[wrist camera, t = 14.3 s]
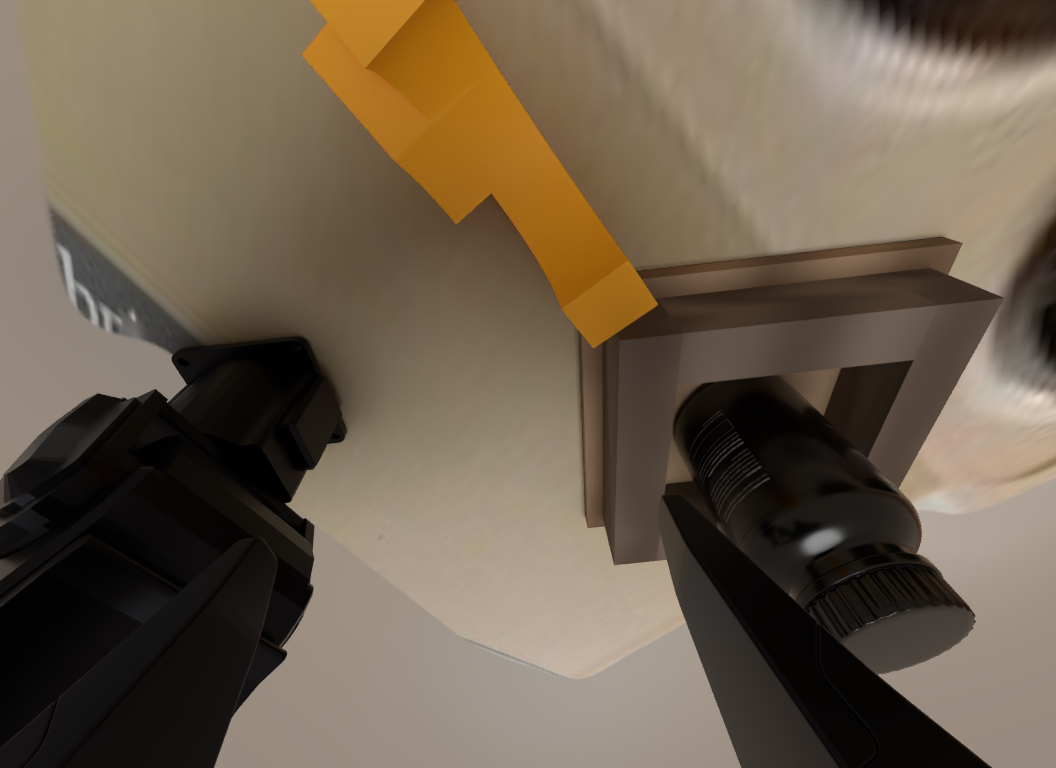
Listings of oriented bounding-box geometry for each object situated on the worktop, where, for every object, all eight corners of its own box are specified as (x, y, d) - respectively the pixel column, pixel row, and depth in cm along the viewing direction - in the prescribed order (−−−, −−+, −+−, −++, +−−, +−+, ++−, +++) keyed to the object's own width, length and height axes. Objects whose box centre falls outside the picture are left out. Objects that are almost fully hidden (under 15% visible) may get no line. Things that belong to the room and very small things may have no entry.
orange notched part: (335, 61, 15) (248, 44, 10) (421, -42, 14) (374, -123, 9) (539, 303, 21) (553, 375, 16) (615, 247, 20) (658, 304, 14)
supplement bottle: (700, 479, 27) (818, 708, 17) (650, 410, 24) (760, 643, 14) (811, 426, 25) (1019, 649, 15) (773, 342, 22) (1008, 557, 12)
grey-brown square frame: (585, 515, 30) (597, 576, 26) (576, 278, 20) (594, 320, 16) (833, 489, 30) (881, 547, 26) (943, 237, 20) (1045, 270, 16)
